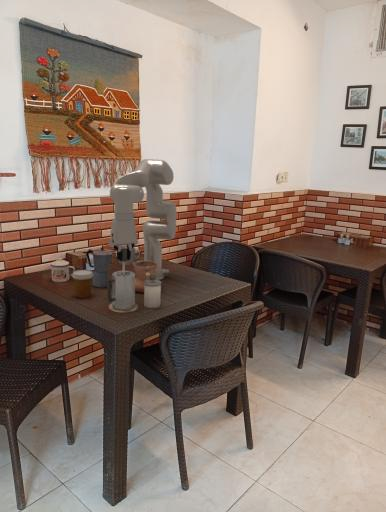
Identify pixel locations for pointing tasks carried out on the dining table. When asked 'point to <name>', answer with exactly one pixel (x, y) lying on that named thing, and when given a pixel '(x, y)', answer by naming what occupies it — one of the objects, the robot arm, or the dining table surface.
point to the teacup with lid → (60, 270)
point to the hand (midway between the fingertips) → (123, 259)
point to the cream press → (152, 292)
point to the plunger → (124, 258)
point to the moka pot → (100, 266)
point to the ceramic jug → (143, 273)
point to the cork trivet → (123, 311)
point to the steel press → (122, 290)
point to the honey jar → (82, 283)
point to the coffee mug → (131, 256)
